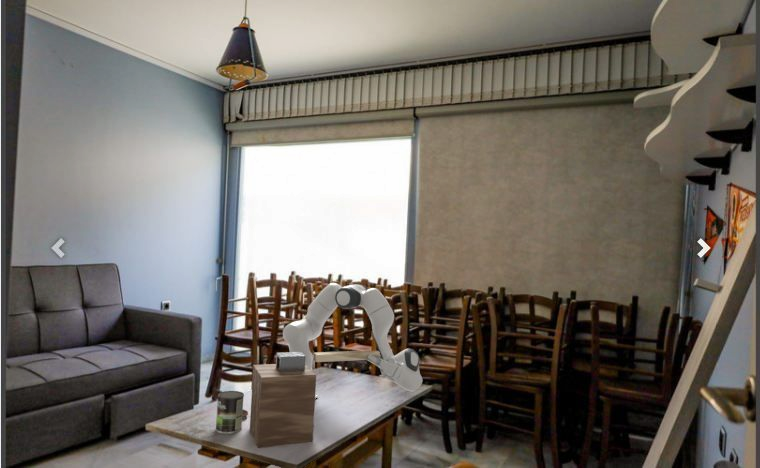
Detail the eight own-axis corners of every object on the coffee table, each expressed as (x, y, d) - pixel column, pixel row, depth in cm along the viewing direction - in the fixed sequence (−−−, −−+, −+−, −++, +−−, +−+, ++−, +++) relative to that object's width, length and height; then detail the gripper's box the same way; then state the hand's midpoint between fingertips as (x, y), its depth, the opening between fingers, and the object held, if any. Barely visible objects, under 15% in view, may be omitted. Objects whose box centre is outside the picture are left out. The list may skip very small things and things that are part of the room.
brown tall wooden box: (249, 429, 203) (253, 365, 203) (300, 424, 211) (303, 362, 212) (257, 448, 184) (261, 377, 185) (312, 442, 192) (316, 374, 193)
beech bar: (313, 359, 205) (313, 352, 205) (376, 357, 216) (376, 350, 216) (316, 362, 201) (316, 354, 201) (379, 359, 212) (380, 352, 212)
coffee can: (223, 436, 194) (225, 399, 194) (211, 428, 201) (213, 393, 202) (246, 430, 201) (248, 395, 202) (234, 423, 209) (236, 389, 209)
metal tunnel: (275, 367, 201) (276, 352, 201) (300, 366, 205) (300, 351, 205) (279, 372, 194) (280, 356, 194) (304, 371, 198) (305, 355, 198)
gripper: (384, 357, 227) (360, 342, 222) (404, 368, 208) (378, 352, 203) (377, 369, 225) (353, 355, 221) (396, 381, 206) (370, 366, 202)
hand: (365, 354), depth 212 cm, fingers closed on beech bar, 4 cm apart
